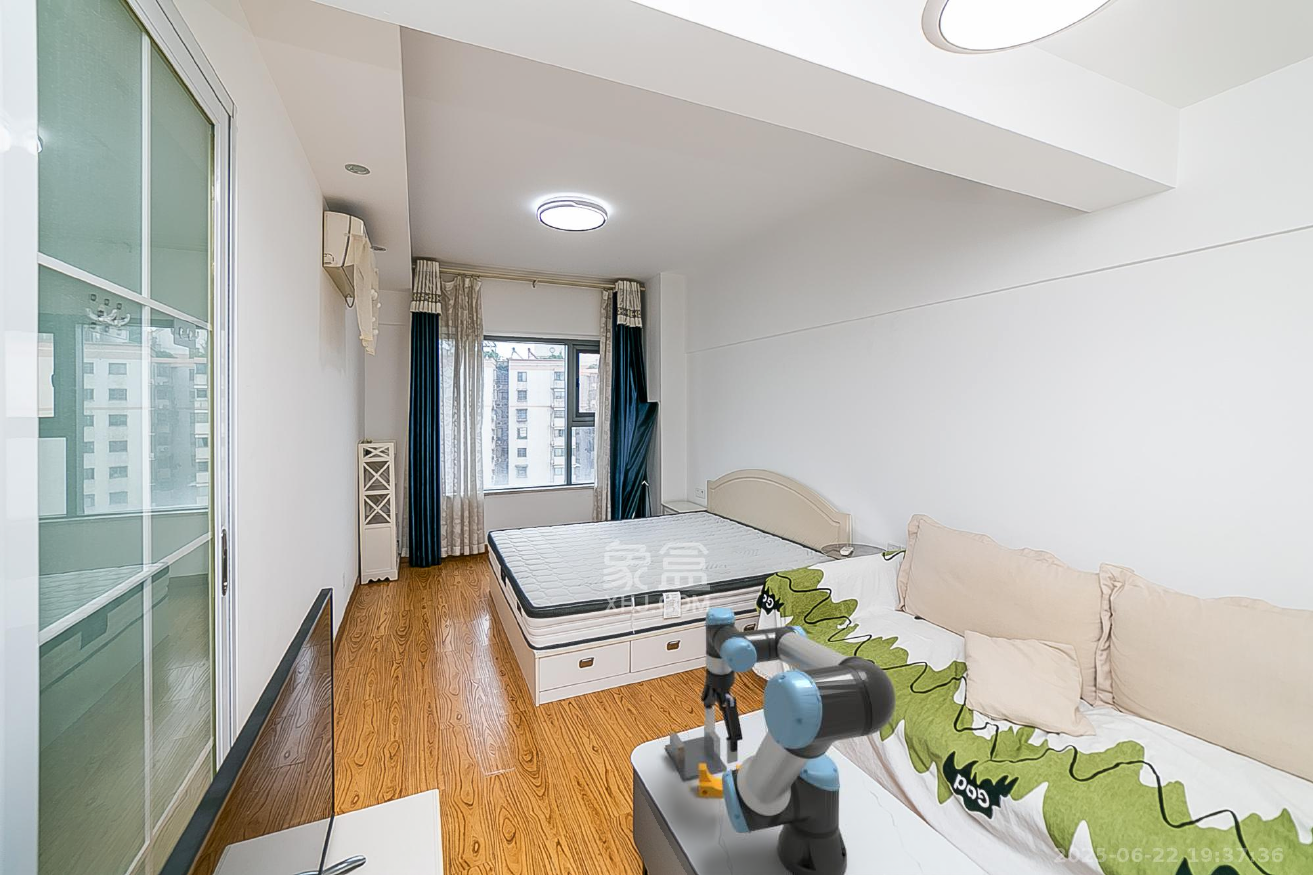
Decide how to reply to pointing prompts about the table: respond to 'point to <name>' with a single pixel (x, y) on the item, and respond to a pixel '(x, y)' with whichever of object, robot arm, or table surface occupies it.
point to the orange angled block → (710, 783)
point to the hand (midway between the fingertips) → (720, 745)
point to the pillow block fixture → (696, 754)
